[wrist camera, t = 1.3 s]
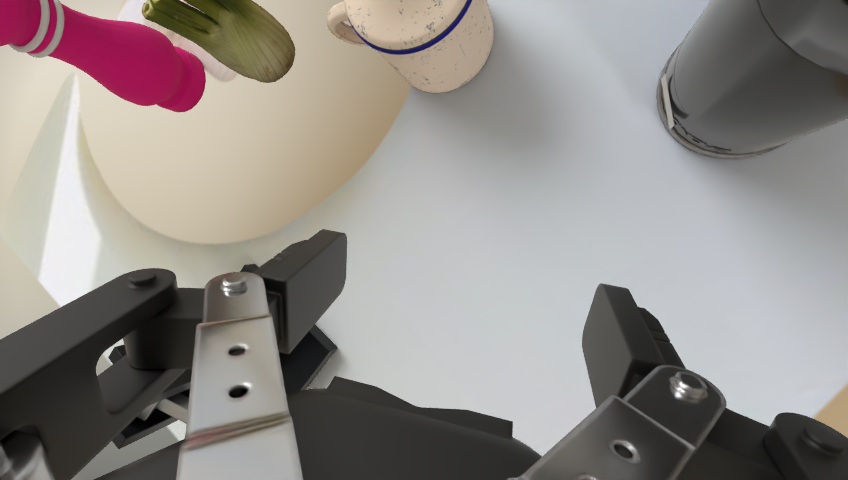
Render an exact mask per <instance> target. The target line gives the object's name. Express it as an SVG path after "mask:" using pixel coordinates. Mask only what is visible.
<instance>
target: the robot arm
mask: <svg viewBox="0 0 848 480" xmlns="http://www.w3.org/2000/svg"><path fill="white" fill-rule="evenodd" d="M657 106H658V111H659V114H660V117H661V120H662V122H663V124H664V125H665V127H666V129H667V130H668V131H669V133H670V134H671V135H672V136H673V137H674V138H675V139H676V140H677V141H678V142H679V143H681V144H682V145H684V146H685V147H687V148H688V149H690V150H692V151H694V152H697V153H699V154H702V155H705V156H709V157H714V158H723V159H738V158H746V157H751V156H755V155H759V154H762V153H765V152H768V151H770V150H773V149H775V148H777V147H780V146H782V145H784V144H785V143H787V142H789V141H791V140H794V139H797V138H800V137H802V136H805V135H807V134H810V133H812V132H815V131H817V130H820V129H822V128H825V127H827V126H830V125H832V124H835V123H838V122H840V121H843V120H845V119H848V0H711V1H710V2H709V4H708V5H707V7H706V8H705V10H704V11H703V12H702V14H701V15H700V17H699V18H698V20H697V21H696V23H695V24H694V26H693V27H692V29H691V30H690V31H689V33H688V34H687V36H686V37H685V39H684V40H683V42H682V43H681V44H680V45H679V46H678V47H677V49H676V50H675V51H674V53H673V54H672V55H671V57H670V58H669V60H668V62H667V63H666V65H665V67H664V69H663V71H662V73H661V76H660V79H659V83H658V88H657ZM346 259H347V237H346V234H345V233H340V232H335V231H330V230H325V229H322V230H321V231H319V232H318V233H317V234H315V235H314V236H313V237H311V238H310V239H309V240H304V241H301V242H298V243H295V244H292V245H290V246H289V247H287V248H286V249H284V250H283V251H282V252H281V253H279V254H277V255H276V256H275V257H274V259H270V260H269V261H268V262H266V263H265V264H263V265H262V266H261V267H259V268H258V269H256V270H255V271H254V272H252V273H249V272H233V273H227V274H223V275H220V276H217V277H215V278H213V279H212V280H210V281H209V282H208V283H207V284H206V286H205V289H202V288H177V281H176V276H175V274H174V273H173V272H172V271H169V270H166V269H158V268H150V269H142V270H136V271H132V272H129V273H126V274H123V275H121V276H119V277H117V278H115V279H113V280H112V281H110V282H108V283H106V284H104V285H102V286H100V287H98V288H97V289H95V290H93V291H91V292H89V293H87V294H85V295H83V296H82V297H80V298H78V299H76V300H74V301H72V302H70V303H68V304H66V305H65V306H63V307H61V308H59V309H57V310H55V311H53V312H51V313H50V314H48V315H46V316H44V317H42V318H40V319H38V320H36V321H35V322H33V323H31V324H29V325H27V326H25V327H23V328H21V329H19V330H18V331H16V332H14V333H12V334H10V335H8V336H6V337H4V338H3V339H1V340H0V480H71V479H72V478H73V477H74V476H75V475H76V474H77V473H78V472H79V471H80V470H81V469H82V468H83V467H84V466H86V465H87V464H88V463H89V462H90V461H91V460H92V459H93V458H94V457H95V456H96V455H97V454H98V453H99V452H100V451H101V450H102V449H103V448H104V447H106V446H107V445H108V444H109V442H111V441H112V440H113V439H114V438H115V437H116V436H117V435H118V434H119V433H120V432H121V431H122V430H123V429H124V428H126V427H127V426H128V425H129V424H130V423H131V422H132V421H133V420H134V419H135V418H136V417H137V416H138V415H139V414H140V413H141V412H142V411H143V410H144V409H146V408H147V407H148V406H149V405H150V404H151V403H152V402H153V401H154V400H155V399H156V398H157V397H158V396H159V395H160V394H161V393H162V392H163V391H164V390H166V389H167V388H168V387H169V386H170V385H171V384H172V383H173V382H174V381H175V380H176V379H177V378H178V377H179V376H180V375H181V374H182V373H183V372H184V371H185V370H186V369H192V376H191V386H190V396H189V406H188V415H187V425H186V435H185V439H184V440H181V441H179V442H177V443H175V444H172V445H170V446H168V447H166V448H164V449H161V450H159V451H157V452H155V453H152V454H150V455H148V456H146V457H143V458H141V459H139V460H137V461H134V462H132V463H130V464H128V465H125V466H123V467H121V468H119V469H117V470H114V471H112V472H110V473H108V474H105V475H103V476H101V477H99V478H96V479H94V480H848V438H847V437H845V436H844V435H842V434H841V433H839V432H838V431H836V430H834V429H833V428H831V427H829V426H827V425H825V424H823V423H821V422H819V421H817V420H815V419H812V418H810V417H807V416H804V415H800V414H796V413H780V414H778V415H777V416H776V417H775V419H774V421H773V422H772V424H771V425H770V427H769V426H767V425H764V424H762V423H759V422H757V421H755V420H752V419H750V418H747V417H745V416H743V415H740V414H738V413H736V412H733V411H731V410H729V409H727V408H725V407H726V400H725V398H724V396H723V394H722V393H721V392H720V390H719V389H718V388H717V387H716V386H715V385H713V384H712V383H711V382H710V381H708V380H707V379H705V378H704V377H702V376H700V375H698V374H696V373H694V372H692V371H690V370H687V369H686V368H685V366H684V364H683V363H682V361H681V359H680V358H679V356H678V354H677V352H676V351H675V349H674V347H673V345H672V344H671V343H670V340H669V338H668V337H667V335H666V334H665V333H664V332H665V331H664V330H663V328H662V326H661V324H660V323H659V321H658V319H656V318H655V317H654V316H653V315H652V314H651V313H649V312H648V311H647V310H646V309H645V308H640V307H637V305H636V303H635V301H634V299H633V297H632V295H631V293H630V291H629V290H628V289H627V288H622V287H617V286H612V285H607V284H599V286H598V287H597V290H596V292H595V295H594V299H593V302H592V305H591V308H590V311H589V314H588V317H587V320H586V323H585V327H584V330H583V337H582V348H583V352H584V357H585V361H586V365H587V370H588V374H589V379H590V383H591V387H592V392H593V396H594V400H595V405H596V409H595V410H594V411H593V412H592V413H591V414H589V415H588V416H587V417H586V418H585V419H584V420H583V421H582V422H580V423H579V424H578V425H577V426H576V427H575V428H574V429H573V430H572V431H570V432H569V433H568V434H567V435H566V436H565V437H564V438H563V439H562V440H560V441H559V442H558V443H557V444H556V445H555V446H554V447H553V448H552V449H550V450H549V451H548V452H547V453H546V454H545V455H544V456H543V457H542V456H540V455H539V454H538V453H537V452H535V451H534V450H533V449H531V448H530V447H529V446H527V445H525V444H524V443H522V442H520V441H519V440H517V439H515V438H513V437H512V428H513V422H512V421H508V420H504V419H500V418H496V417H492V416H488V415H484V414H481V413H477V412H473V411H469V410H459V409H439V408H421V407H416V406H414V405H412V404H410V403H408V402H406V401H404V400H402V399H400V398H398V397H396V396H394V395H392V394H390V393H388V392H386V391H384V390H382V389H380V388H378V387H375V386H372V385H368V384H364V383H360V382H356V381H352V380H348V379H344V378H340V377H336V376H335V377H334V378H333V380H332V382H331V383H330V385H329V386H328V388H327V389H309V390H302V391H297V392H293V393H289V394H286V392H285V387H284V381H283V375H282V370H281V364H280V358H279V352H281V353H285V354H290V353H291V351H292V350H293V349H294V348H295V347H296V346H297V344H298V343H299V342H300V341H301V340H302V338H303V337H304V336H305V335H306V334H307V333H308V331H309V330H310V329H311V328H312V327H313V325H314V324H315V323H316V322H317V321H318V320H319V318H320V317H321V316H322V315H323V314H324V312H325V311H326V310H327V309H328V308H329V307H330V305H331V304H332V303H333V302H334V301H335V299H336V298H337V297H338V296H339V295H340V293H341V292H342V290H343V287H344V284H345V279H346ZM122 338H123V341H124V345H125V349H126V353H127V354H126V355H125V356H124V357H122V358H121V359H120V360H118V361H117V362H116V363H114V364H113V365H112V366H110V367H109V368H108V369H106V370H105V371H104V372H103V373H101V374H100V375H98V376H97V375H96V365H97V362H98V360H99V358H100V356H101V355H102V354H103V352H104V351H105V350H107V349H108V348H109V347H111V346H112V345H114V344H115V343H116V342H118V341H119V340H121V339H122Z"/></svg>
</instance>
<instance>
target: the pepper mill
mask: <svg viewBox="0 0 848 480" xmlns="http://www.w3.org/2000/svg"><path fill="white" fill-rule="evenodd" d="M7 44H9V45H10V46H11V47H12V48H13V49H14V50H16V51H18V52H26V53H28V54H29V55H31V56H33V57H39V58H40V57H45V56H50V57H54V58H57V59H60V60H62V61H65V62H67V63H69V64H71V65H74V66H76V67H77V68H79V69H81V70H83V71H84V72H86V73H87V74H89V75H90V76H91V77H93V78H94V79H95V80H97V81H98V82H99V83H100V84H102V85H103V86H104V87H106V88H107V89H108V90H109V91H111V92H112V93H114V94H116V95H117V96H119V97H121V98H123V99H125V100H127V101H130V102H132V103H135V104H138V105H142V106H150V105H154V104H157V105H158V106H160V107H163V108H166V109H169V110H172V111H175V112H185V111H188V110H190V109H192V108H193V107H194V106H195V105H196V104H197V103H198V102H199V100H200V99H201V97H202V95H203V92H204V88H205V82H206V80H205V72H204V68H203V66H202V64H201V62H200V60H199V59H198V58H197V57H196V56H195V55H193V54H191V53H189V52H187V51H185V50H183V49H181V48H179V47H176V46H173V44H172V43H171V42H170V40H169V39H168V38H167V37H166V36H165V35H163V34H162V33H160V32H159V31H157V30H154V29H152V28H150V27H147V26H145V25H142V24H138V23H133V22H126V21H114V20H106V19H100V18H96V17H92V16H88V15H85V14H82V13H80V12H77V11H75V10H72V9H70V8H68V7H67V6H65V5H63V4H61V3H60V1H59V0H0V46H3V45H7Z"/></svg>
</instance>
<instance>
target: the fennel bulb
mask: <svg viewBox="0 0 848 480" xmlns="http://www.w3.org/2000/svg"><path fill="white" fill-rule="evenodd" d="M184 1H186V2H187V3H189V4H190V5H191V6H194V7H196V8H198V9H199V10H200V11H199V10H197V9H195V8H193V7H191V6H189V5H187V4H185V3H183V2H181V1H180V0H154V1H152V0H147V2H146V3H144V5H143V8H142V14H143V15H144V17H145V18H146V19H147V20H150V21H152V22H155V23H157V24H159V25H161V26H163V27H165V28H167V29H169V30H172V31H174V32H176V33H177V34H179V35H181V36H183V37H185V38H187V39H189V40H191V41H193V42H194V43H196V44H197V45H199V46H200V47H202V48H203V49H204V50H206V51H207V52H208V53H210V54H211V55H212V56H213V57H214V58H216V59H217V60H218V61H219V62H221V63H222V64H224V65H226V66H227V67H229V68H230V69H232V70H234V71H236V72H237V73H239V74H241V75H243V76H245V77H248V78H252V79H255V80H258V81H260V82H266V83H270V82H275V81H277V80H278V79H280V78H282V77H283V76H284V75H285V74H286V73H287V72H288V71H289V69H290V68H291V67H292V65H293V61H294V56H295V47H294V44H293V41H292V40H291V38H290V35H289V33H288V32H287V31H286V30H285V28H284V27H283V26H282V25H281V24H280V23H279V22H278V21H277V20H276V19H275V18H274V17H273V16H272V15H271V14H269V13H268V12H267V11H266V10H265V9H263V8H262V7H261V6H259V5H258V4H256V3H255V2H253V1H252V0H184ZM201 11H202V12H201ZM203 12H204V13H203Z"/></svg>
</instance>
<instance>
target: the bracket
mask: <svg viewBox="0 0 848 480" xmlns="http://www.w3.org/2000/svg"><path fill="white" fill-rule="evenodd" d="M256 269H258V267H257V266H256V265H255V264H249V265H244V267H243V268H242V270H241V271H240V272H249V273H252V272H254V271H255V270H256ZM336 349H337V347H336V345H335V344H334V343H333V342H332V341H331V340H330V339H329V338H328V337H327V336H326V335H325V334H324V333H323V332H322V331H321V330H320V329H319V328H318V327H317V326H316V325H315V324H314V325H313V327H312V328H311V329H310V330H309V331H308V333H307V334H306V335H305V336H304V337H303V338H302V340H301V341H300V342H299V343H298V344H297V346H296V347H295V348H294V349H293V350H292V351H291V353H290V354H285V353H281V352H279V358H280V364H281V370H282V375H283V381H284V387H285V392H286V394H289V393H293V392H297V391H302V390H305V389H306V388H307V387H308V385H309V384H310V383H311V381H312V380H313V379H314V377H315V376H316V375H317V374H318V372H319V371H320V370H321V368H322V367H323V366H324V365H325V363H326V362H327V361H328V359H329V358H330V357H331V355H332V354H333V353H334V352H335V350H336ZM126 354H127V353H126V349H125V345H121V346H117V347H115V348H114V349H113V351H112V352H111V354H110V356H109V359H110V361H111V362H112V363H113V364H114V363H116V362H117V361H118V360H120V359H121V358H122V357H124V356H125V355H126ZM191 376H192V369H186V370H185V371H184V372H183V373H182V374H181V375H180V376H179V377H178V378H177V379H176V380H175V381H174V382H173V383H172V384H171V385H170V386H169V387H168V388H167V389H166V390H164V391H163V392H162V393H161V394H160V395H159V396H158V397H157V398H156V399H155V400H154V401H153V402H152V403H151V404H150V405H152V404H154V403H157V402H159V401H161V400H164V399H166V398H168V397H171V396H173V395H175V394H178V393H180V394H182V395H184V396H186V397H188V398H189V396H190V386H191ZM177 420H178V419H176V418H174V417H172V416H170V415H168V414H166V413H164V412H162V411H160V410H158V409H155V410H154V411H153V412H152V413H151V414H150V416H149V417H148V418H147V419H146V420H145V421H144V420H142V419H140V418H138V417H136V418H135V419H134V420H133V421H132V422H131V423H130V424H129V425H128V426H127V427H126V428H124V429H123V430H122V431H121V432H120V433H119V434H118V435H117V436H116V437H115V438H114V439H113V440H112V441H113V443H114V444H115V445H116V447H117V448H118V449H120V448H122V447H124V446H126V445H128V444H130V443H132V442H135V441H137V440H139V439H141V438H143V437H145V436H147V435H149V434H151V433H153V432H155V431H157V430H159V429H161V428H163V427H165V426H167V425H169V424H171V423H173V422H175V421H177Z"/></svg>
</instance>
